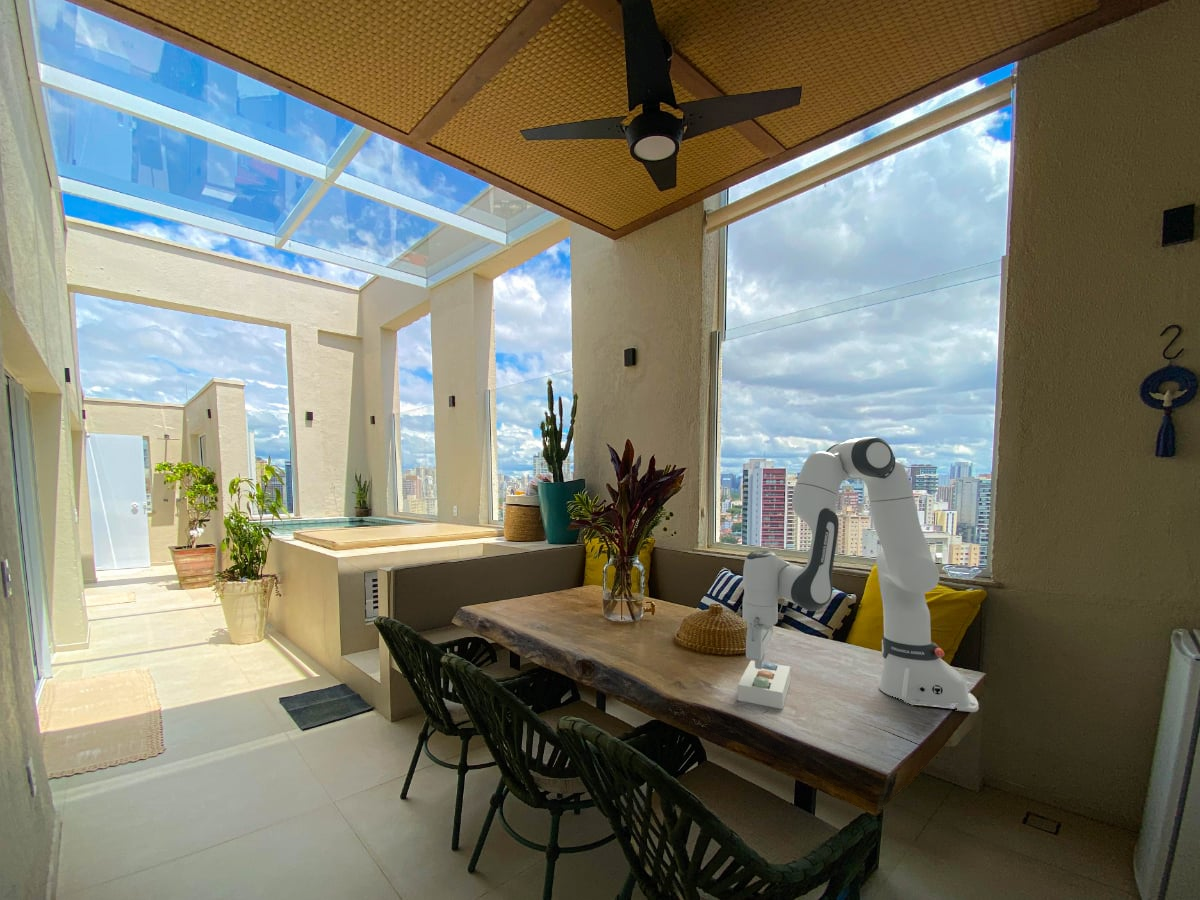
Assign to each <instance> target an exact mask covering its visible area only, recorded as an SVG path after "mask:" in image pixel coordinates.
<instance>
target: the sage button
mask: <svg viewBox="0 0 1200 900" xmlns="http://www.w3.org/2000/svg"><path fill="white" fill-rule="evenodd" d="M754 686H755V687H760V688H766V689H769V680H768V679H767V678H765V677H755V678H754Z"/></svg>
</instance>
